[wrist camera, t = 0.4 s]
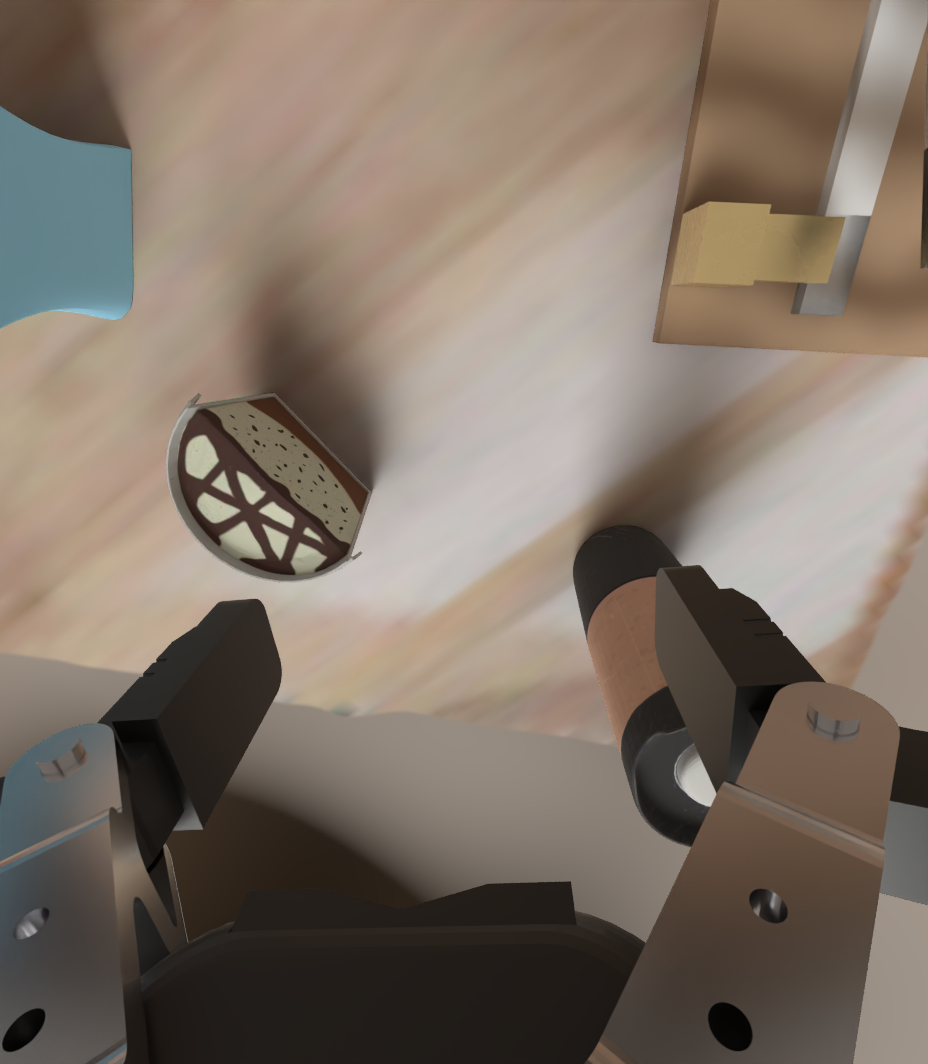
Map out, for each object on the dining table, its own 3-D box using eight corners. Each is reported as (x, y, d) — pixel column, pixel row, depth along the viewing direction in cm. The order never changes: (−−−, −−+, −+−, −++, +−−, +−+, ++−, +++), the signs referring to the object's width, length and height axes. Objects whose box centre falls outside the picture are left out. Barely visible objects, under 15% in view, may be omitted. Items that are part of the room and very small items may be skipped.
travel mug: (684, 596, 41) (838, 830, 23) (585, 625, 43) (656, 869, 24) (659, 506, 39) (810, 689, 20) (555, 541, 40) (608, 742, 22)
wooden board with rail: (745, -206, 25) (792, -301, 21) (1123, -196, 25) (1243, -291, 21) (652, 341, 35) (673, 346, 31) (927, 356, 34) (984, 362, 30)
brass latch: (682, 214, 30) (709, 201, 27) (810, 219, 30) (855, 208, 27) (670, 285, 32) (693, 282, 28) (792, 291, 32) (832, 289, 28)
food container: (201, 435, 38) (109, 476, 29) (257, 375, 37) (178, 399, 27) (328, 557, 42) (282, 628, 32) (386, 507, 40) (354, 568, 31)
